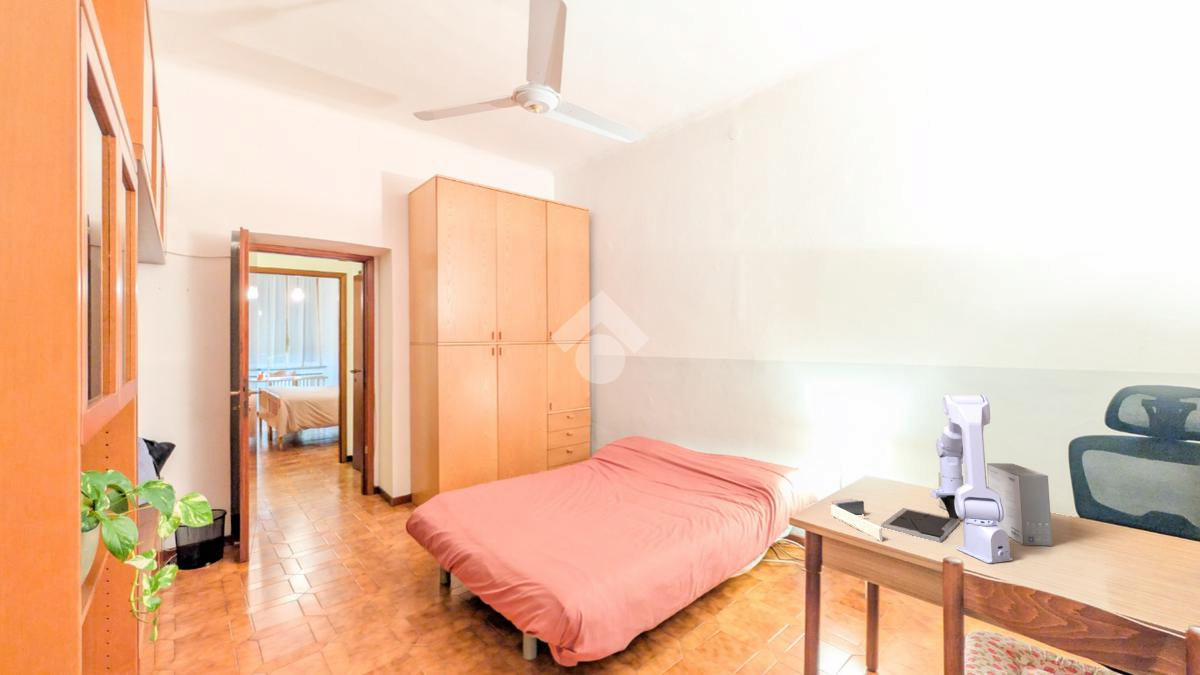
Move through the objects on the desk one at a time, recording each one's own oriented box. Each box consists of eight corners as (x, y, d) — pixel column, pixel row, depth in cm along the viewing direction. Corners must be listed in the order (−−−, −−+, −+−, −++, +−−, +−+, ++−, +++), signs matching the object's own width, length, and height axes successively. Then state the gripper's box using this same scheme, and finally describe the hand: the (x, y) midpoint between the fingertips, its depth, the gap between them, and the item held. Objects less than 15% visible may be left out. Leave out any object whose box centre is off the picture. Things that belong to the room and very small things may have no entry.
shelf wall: (882, 541, 140) (881, 527, 140) (879, 541, 140) (879, 528, 140) (833, 516, 162) (833, 504, 162) (831, 516, 161) (830, 504, 161)
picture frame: (940, 545, 137) (959, 525, 151) (939, 535, 138) (958, 516, 151) (881, 530, 149) (903, 513, 163) (880, 521, 150) (903, 505, 163)
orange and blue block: (860, 515, 161) (859, 500, 161) (837, 518, 160) (837, 503, 160) (852, 511, 165) (852, 497, 165) (831, 514, 163) (830, 500, 163)
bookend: (869, 518, 158) (868, 503, 158) (843, 521, 156) (843, 506, 157) (862, 515, 161) (861, 500, 161) (837, 518, 160) (836, 503, 160)
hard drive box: (1054, 547, 132) (1049, 476, 132) (1022, 545, 133) (1018, 475, 134) (1017, 526, 147) (1013, 462, 148) (989, 525, 149) (985, 462, 149)
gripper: (958, 471, 158) (961, 511, 158) (921, 475, 156) (924, 516, 155) (979, 476, 151) (981, 519, 151) (940, 480, 149) (943, 523, 148)
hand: (953, 518), depth 153 cm, fingers closed
